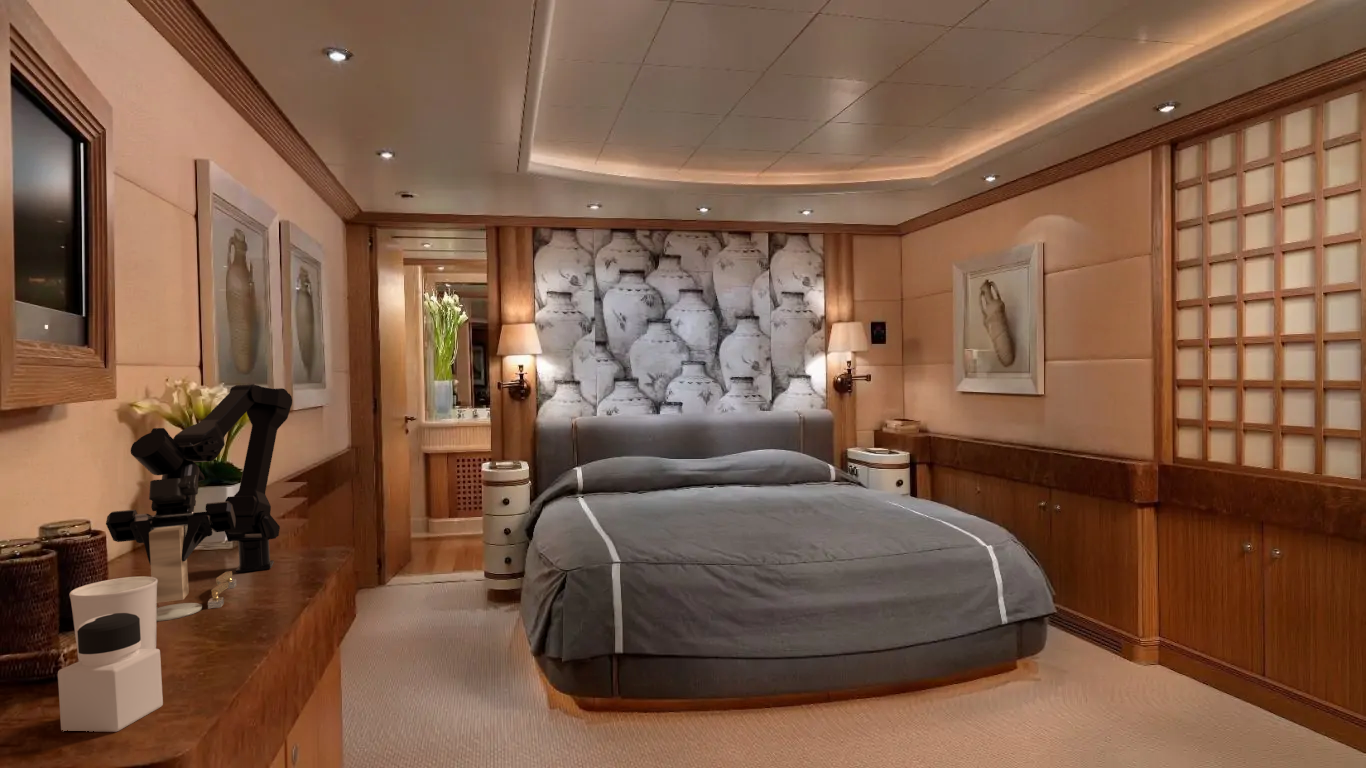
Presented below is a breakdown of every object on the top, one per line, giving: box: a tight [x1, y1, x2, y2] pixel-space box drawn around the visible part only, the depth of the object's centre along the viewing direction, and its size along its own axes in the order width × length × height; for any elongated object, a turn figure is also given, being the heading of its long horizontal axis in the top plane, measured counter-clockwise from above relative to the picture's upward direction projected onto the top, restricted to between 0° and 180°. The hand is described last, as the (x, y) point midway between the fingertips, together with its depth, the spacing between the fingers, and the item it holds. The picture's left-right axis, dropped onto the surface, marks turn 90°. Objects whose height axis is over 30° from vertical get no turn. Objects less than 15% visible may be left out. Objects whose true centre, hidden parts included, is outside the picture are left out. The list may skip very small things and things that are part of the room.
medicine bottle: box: [57, 613, 164, 733], centre depth 93 cm, size 7×7×12 cm
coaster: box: [156, 602, 203, 622], centre depth 137 cm, size 9×9×1 cm
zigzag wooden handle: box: [207, 570, 237, 610], centre depth 147 cm, size 16×3×3 cm, turn 21°
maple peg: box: [149, 525, 190, 604], centre depth 137 cm, size 4×4×12 cm
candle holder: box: [69, 575, 158, 662], centre depth 109 cm, size 10×10×12 cm
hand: (167, 561), depth 135 cm, fingers closed on maple peg, 4 cm apart
